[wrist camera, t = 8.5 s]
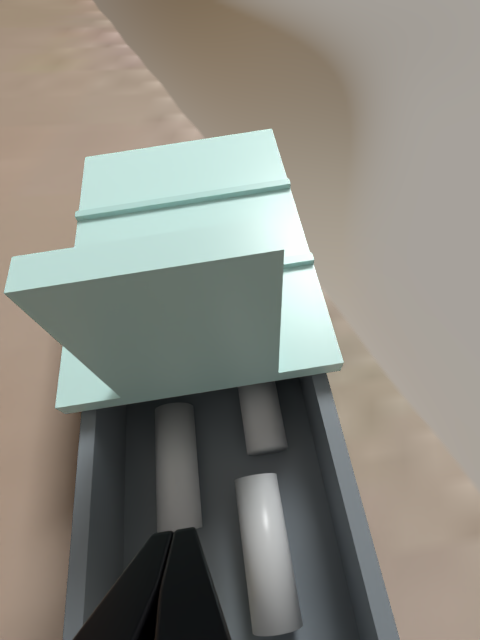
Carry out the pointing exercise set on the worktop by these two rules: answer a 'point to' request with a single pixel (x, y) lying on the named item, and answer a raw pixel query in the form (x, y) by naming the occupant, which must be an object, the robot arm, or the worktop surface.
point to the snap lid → (180, 277)
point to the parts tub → (233, 508)
